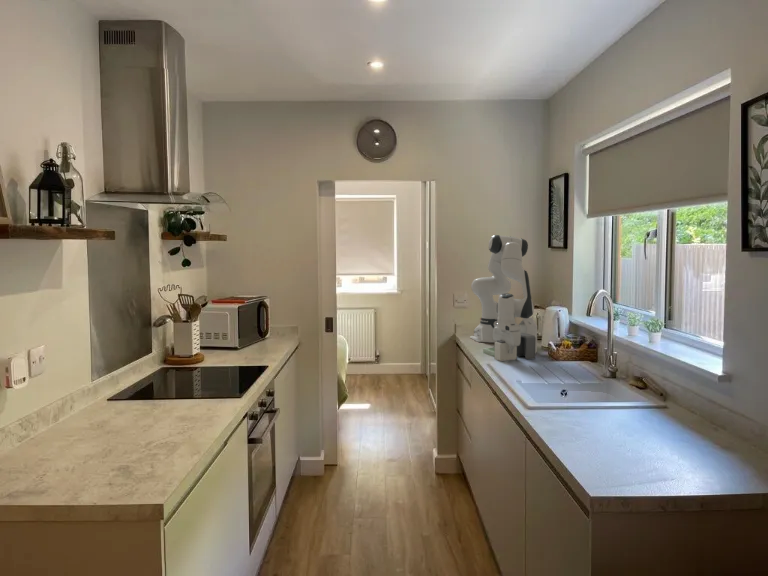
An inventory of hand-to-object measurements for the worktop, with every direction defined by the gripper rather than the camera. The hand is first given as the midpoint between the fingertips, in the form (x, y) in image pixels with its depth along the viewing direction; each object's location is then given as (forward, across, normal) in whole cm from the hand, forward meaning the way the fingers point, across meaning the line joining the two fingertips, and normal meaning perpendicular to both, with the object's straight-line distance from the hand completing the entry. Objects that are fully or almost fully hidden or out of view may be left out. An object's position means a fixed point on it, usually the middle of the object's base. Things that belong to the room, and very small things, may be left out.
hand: (505, 351), depth 284 cm
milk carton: (+4, -10, +21) cm, 24 cm away
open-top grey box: (+4, 0, +12) cm, 12 cm away
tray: (+4, -13, +6) cm, 15 cm away
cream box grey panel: (+4, 0, 0) cm, 4 cm away
